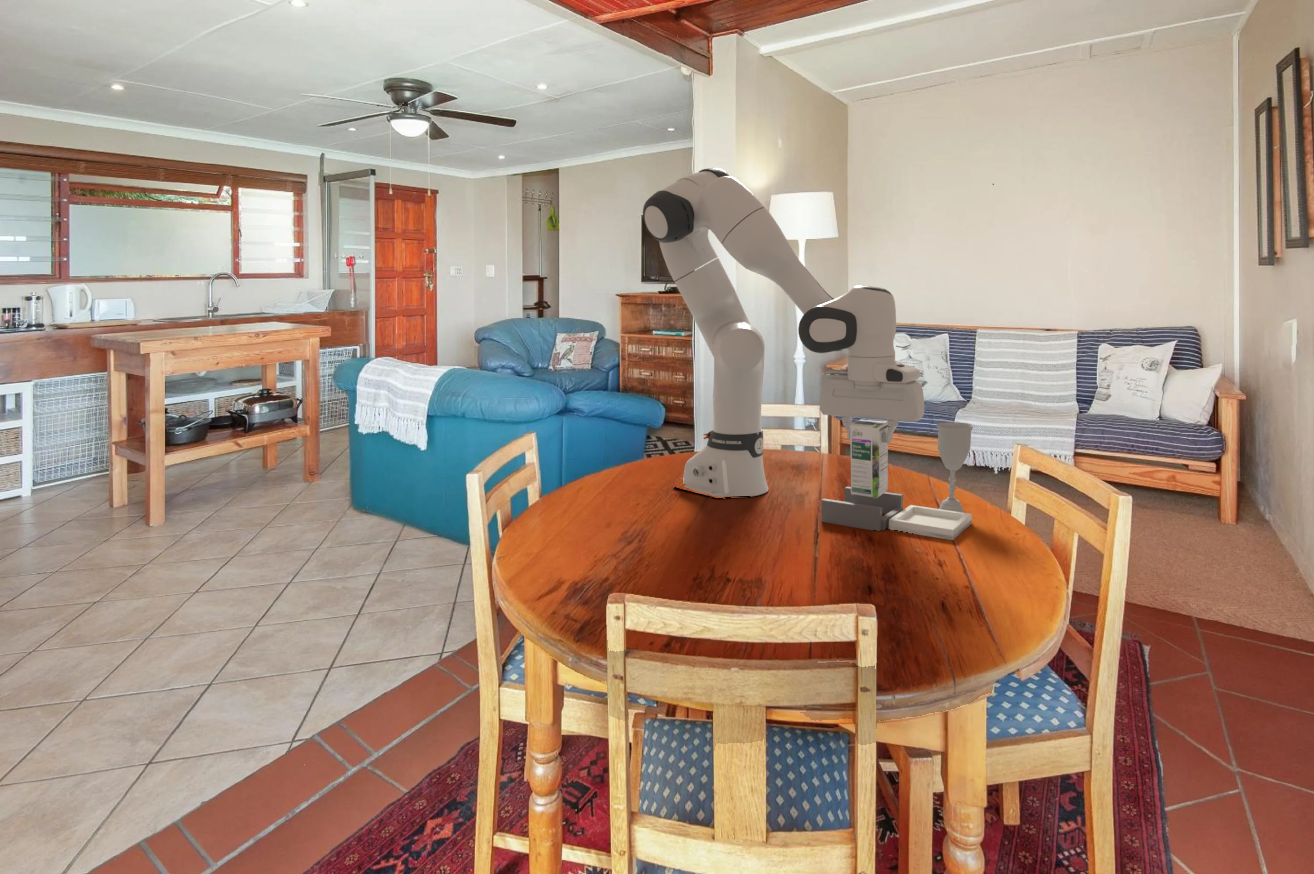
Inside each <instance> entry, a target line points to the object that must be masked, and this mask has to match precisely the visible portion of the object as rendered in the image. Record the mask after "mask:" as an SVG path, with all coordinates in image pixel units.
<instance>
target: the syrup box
mask: <svg viewBox="0 0 1314 874" xmlns="http://www.w3.org/2000/svg"><path fill="white" fill-rule="evenodd" d="M887 422H888V420H887V421H886V420H873V419H871V420H870V419H858V420H856V421H854V422H853V423H851V424H852V425H850V439H849V440H850V441H849V443H850V445H849V447H850V448H849V449H850V487H851V494H852V495H861V496H867V497H873V498H878V497H879V496H881V495H882V494H883V493H884V492H888V489H889V479H888V478H889V466H888V465H889V457H888V456H889V448H888V447H889V443H885V442H882V433H884V432H887V431H888V429H889V426H888V425H887Z"/></svg>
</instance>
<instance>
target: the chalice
mask: <svg viewBox="0 0 1314 874" xmlns="http://www.w3.org/2000/svg"><path fill="white" fill-rule="evenodd" d="M935 427H936V429H937V430H938V435H937V449H938V453H939V456H940V459H941V461H942V464H943V465H944V468H946V469H947V470H949V473H950V474H949V477H948V479H947V480H948V481H949V485H948V487H947V489H948V493H949V494H948V497H947V498H944V499H942V501H941V503H940V507H939V508H938V509H942V510H949V511H955V512H962V513H965V511H964V509H963V506H962V503H961V501H960V500H959V499H956V496H955V492H956V490H957V487H956V484H955V483H956V481H957V478H956V472H957V471H958V470H960V469H962V466H963V465H964V463H965V461H966V459H967V458H968V456H969V453H970V450H971V444H972V443H971V441H972V430H973V428H974V427H975V425H974V424H972V423H967V422H952V421H951V422H947V421H946V422H940V423H937V424H936V425H935Z"/></svg>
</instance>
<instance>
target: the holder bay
mask: <svg viewBox="0 0 1314 874" xmlns="http://www.w3.org/2000/svg"><path fill="white" fill-rule="evenodd" d="M903 505H904V494H902V493H894V492H888V491H885V492H884V493H883V494H882V495H881V496H879V497H878V498H873V497H867V496H861V495H852V494H851V486H846V487H845V488H844V501H843V500H837V499H836V500H835V499H831V498H830V499H828V498H822V499H821V509H820V512H821V513H820V514H821V518H820V519H821V520H820V521H821V523H826V524H832V525H838V526H844V527H850V528H857V529H862V530H866V531H867V530H868V531H873V530H877V531H876V532H878V531H880V530H881V531H885V529H886V528H887V529H889V519H891V518H892V517H894V516H895V515H896V514H898V513H899V512H901V511H902V510H904V507H903ZM883 514H886V515H883ZM887 529H886V530H887ZM881 531H880V532H881Z"/></svg>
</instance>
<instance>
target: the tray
mask: <svg viewBox="0 0 1314 874" xmlns="http://www.w3.org/2000/svg"><path fill="white" fill-rule="evenodd" d="M972 517H973V514H972V513H968V512H964V513H962V512H955V511H949V510H942V509H939V508H935V507H934V508H933V507H928V506H927V507H926V506H919V505H914V504H910V505H908V506H907V507H906V508H903V510H902V511H901V512H899V513H898V514H896V515H895V516H894V517H892V518H891V519H889V527H888V530H889V529H890V530H889V531H894V530H898V531H897V532H900V531H903V532H902V533H906V532H908V533H907V534H912V533H913V534H914V535H917V536H918V535H919V536H924V537H930V538H937V539H943V540H948V541H954V540H955V539H956V538H957V537H958V536H960V535H961V533H963V532H964V531H965V530H966V529H968V528H969V527H970V526H971V525H972V520H973V518H972Z"/></svg>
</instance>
